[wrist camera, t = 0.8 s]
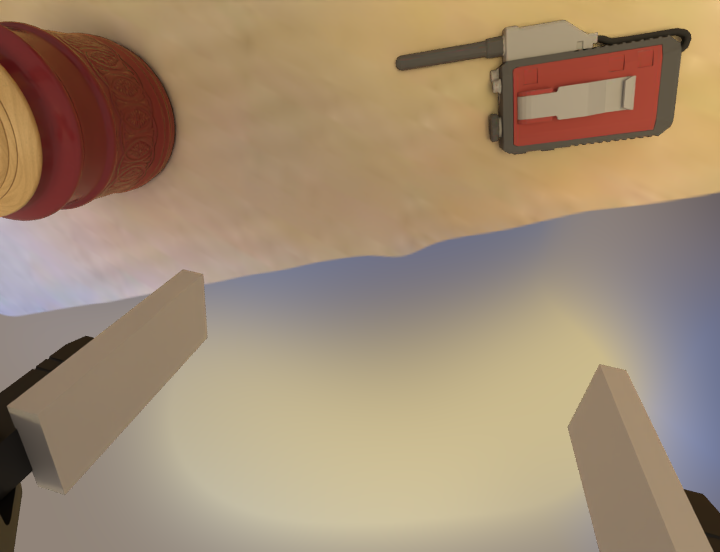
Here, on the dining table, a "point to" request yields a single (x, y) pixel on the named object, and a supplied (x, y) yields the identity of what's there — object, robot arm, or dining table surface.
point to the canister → (75, 121)
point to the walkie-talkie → (573, 84)
